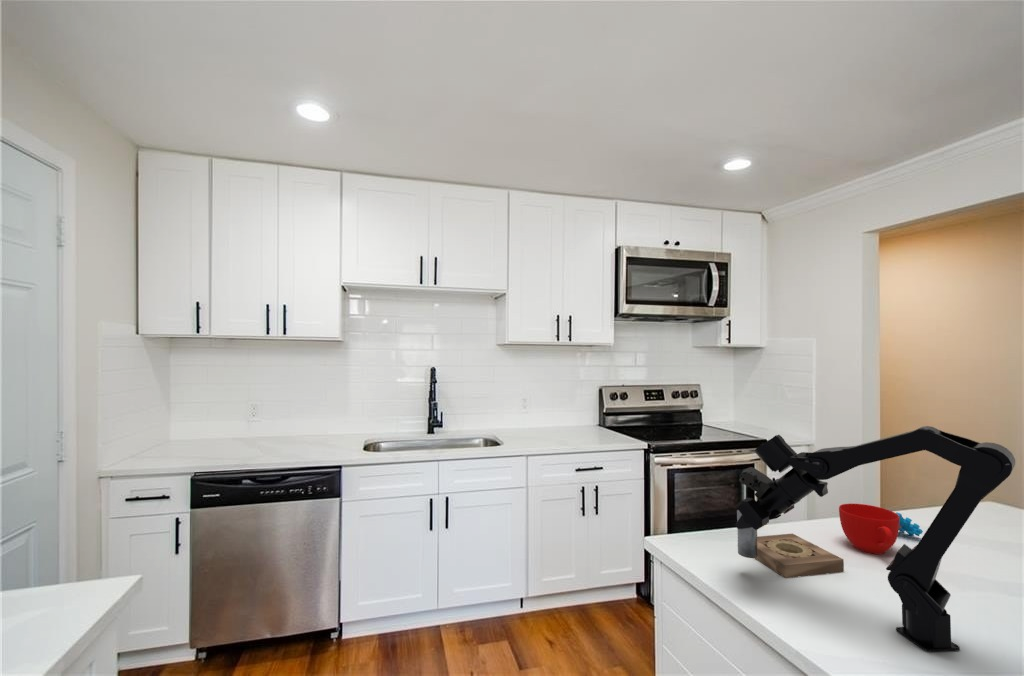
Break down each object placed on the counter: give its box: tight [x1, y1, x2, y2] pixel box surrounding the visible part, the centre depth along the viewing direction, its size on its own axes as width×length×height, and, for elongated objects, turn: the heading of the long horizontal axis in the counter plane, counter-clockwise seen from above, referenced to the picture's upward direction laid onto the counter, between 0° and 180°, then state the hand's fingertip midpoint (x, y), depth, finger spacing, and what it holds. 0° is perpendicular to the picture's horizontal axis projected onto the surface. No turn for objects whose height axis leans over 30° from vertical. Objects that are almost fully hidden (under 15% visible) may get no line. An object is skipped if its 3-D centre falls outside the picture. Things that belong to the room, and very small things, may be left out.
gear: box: [889, 509, 923, 537], centre depth 133 cm, size 11×6×10 cm
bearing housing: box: [754, 533, 845, 579], centre depth 118 cm, size 16×16×3 cm
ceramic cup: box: [838, 503, 900, 555], centre depth 122 cm, size 13×17×10 cm
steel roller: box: [736, 509, 758, 559], centre depth 110 cm, size 4×4×10 cm
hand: (741, 524), depth 112 cm, fingers closed on steel roller, 4 cm apart
